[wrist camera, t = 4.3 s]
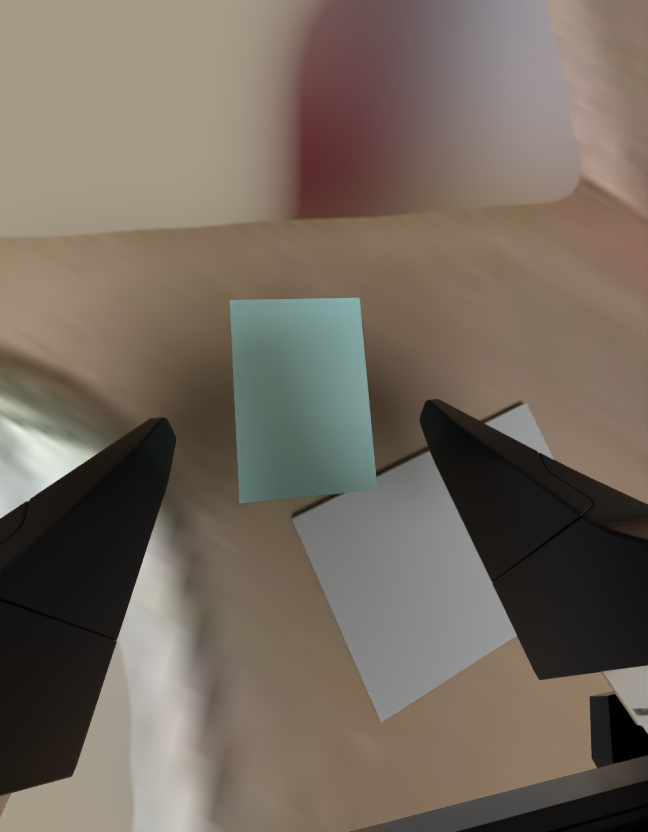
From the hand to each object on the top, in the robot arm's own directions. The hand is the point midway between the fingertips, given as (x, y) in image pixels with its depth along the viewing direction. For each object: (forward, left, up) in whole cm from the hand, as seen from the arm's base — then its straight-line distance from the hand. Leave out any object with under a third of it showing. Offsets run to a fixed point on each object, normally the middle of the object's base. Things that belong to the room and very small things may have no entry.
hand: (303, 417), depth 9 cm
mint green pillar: (0, +1, -8) cm, 8 cm away
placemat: (+6, -11, -7) cm, 15 cm away
